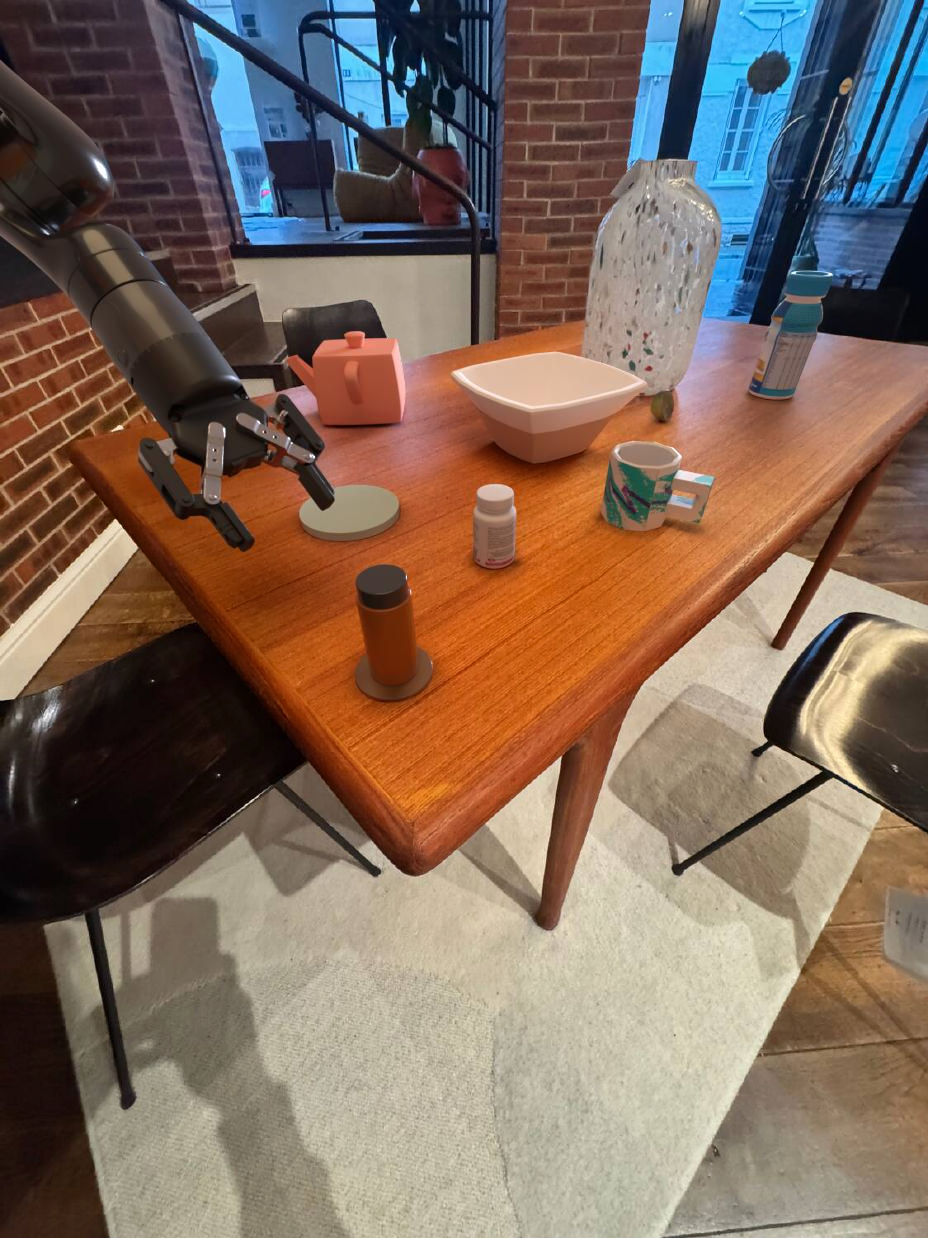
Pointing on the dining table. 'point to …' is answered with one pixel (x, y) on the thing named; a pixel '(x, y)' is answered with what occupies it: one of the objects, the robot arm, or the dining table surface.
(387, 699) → the coaster
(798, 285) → the beverage bottle
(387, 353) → the teapot
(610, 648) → the dining table surface
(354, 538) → the plate
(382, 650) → the spice bottle
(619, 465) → the mug
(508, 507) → the pill bottle
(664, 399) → the lime
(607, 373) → the bowl
